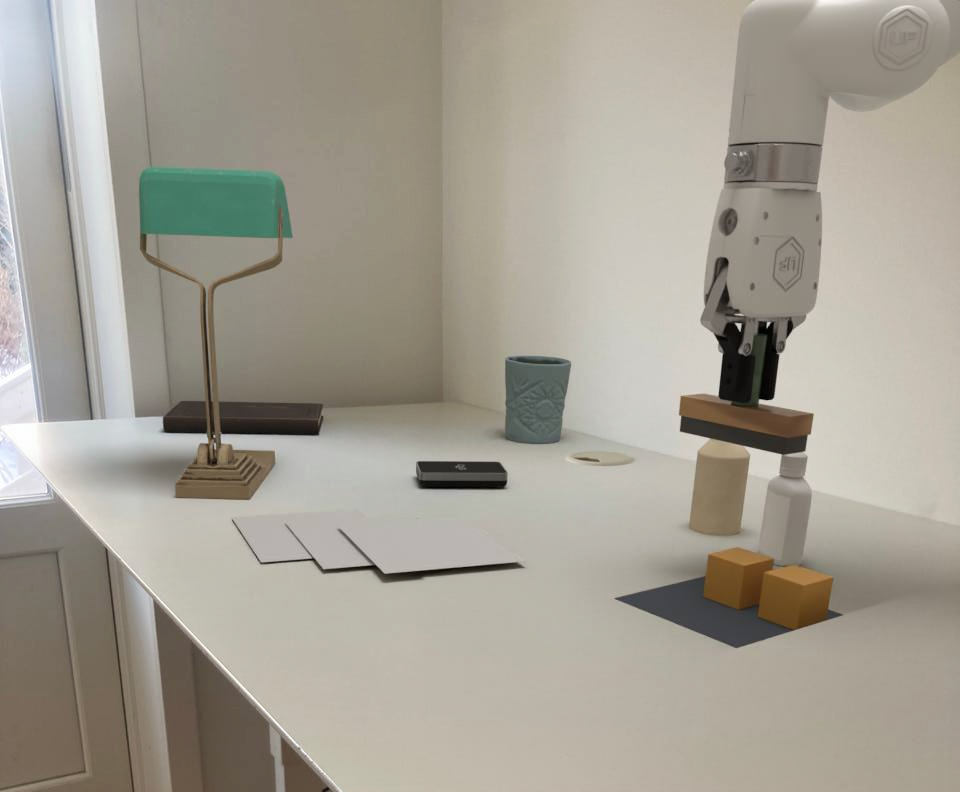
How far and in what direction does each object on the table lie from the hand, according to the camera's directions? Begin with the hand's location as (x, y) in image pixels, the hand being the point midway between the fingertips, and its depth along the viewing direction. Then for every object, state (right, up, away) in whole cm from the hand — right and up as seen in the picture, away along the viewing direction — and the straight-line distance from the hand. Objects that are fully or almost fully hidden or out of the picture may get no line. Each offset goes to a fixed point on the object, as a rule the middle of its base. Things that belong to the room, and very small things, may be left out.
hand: (746, 397), depth 91 cm
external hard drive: (-26, -2, +39) cm, 47 cm away
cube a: (+3, -20, -5) cm, 21 cm away
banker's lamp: (-55, -1, +37) cm, 66 cm away
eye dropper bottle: (+6, -14, +12) cm, 19 cm away
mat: (-1, -19, -4) cm, 20 cm away
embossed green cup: (-15, +10, +69) cm, 71 cm away
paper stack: (-35, -12, +13) cm, 39 cm away
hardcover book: (-60, +12, +71) cm, 94 cm away
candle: (+2, -10, +22) cm, 24 cm away
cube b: (-1, -18, -1) cm, 18 cm away
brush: (0, -4, +1) cm, 4 cm away
